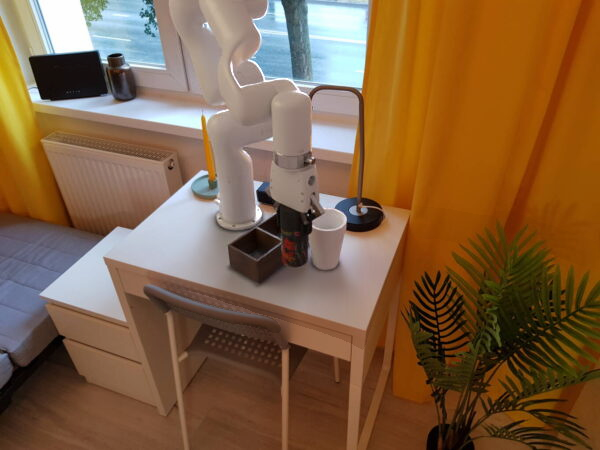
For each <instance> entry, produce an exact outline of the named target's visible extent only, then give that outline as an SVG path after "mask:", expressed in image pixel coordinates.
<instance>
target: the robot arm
mask: <svg viewBox="0 0 600 450" xmlns="http://www.w3.org/2000/svg"><path fill="white" fill-rule="evenodd" d="M168 9H169V15H170V18H171V21H172V24H173V26H174V28H175V31H176V32H177V35H178V36H179V38H180V40H181V41H182V43H183V44H184V46H185V47H186V49H187V51H188V54H189V56H190V59H191V62H192V66H193V69H194V73H195V76H196V79H197V82H198V86H199V90H200V91H201V94H202V97H203V99H204V101H205V103H206V104H207V105H209V106H212V107H218V106H219V107H220V106H224V105H225V106H226V108H227V109H225V110H220V111H218V112H216V113H214V114H212V115H211V116H210V117H209V118H208V120H207V122H206V132H207V135H208V139H209V142H210V145H211V149H212V153H213V158H214V162H215V163H214V165H215V171H216V179H217V187H218V193H217V194H216V198H215V199H213V204H215V205H217V206H218V211H217V213H216V222H217V223H218V225H219V226H221V227H222V228H224V229H226V230H230V231H245V230H248V229H249V230H250V229H252V228H254V227H255V226H256V225H258V224H259V223H261V220H262V218H263V213H262V210H261V207H259V206H258V205H257V204H256V195H255V193H256V192H255V182H254V180H255V179H254V168H253V166H254V165H253V160H252V158H251V156H250V154H248V153H247V151H246V150H244V149H243V148H244V147H246V146H249V145H253V144H256V143H260V142H263V141H267V140H270V139H272V148H273V149H272V150H273V152H272V153H273V158H272V160H271V166H270V172H269V173H270V175H269V185H268V186H266V187H265V188H264V191H265V193H266V194H267V196H268V197H269V201H270V202H271V204H272V205H273V210H274V211H275V213H276V216H277V226H278V227H281V225H280V203H281V204H283V205H286V206H288V207H290V208H292V209H295V210H297V211H299V212H300V215H301V218H302V221H303V222H301V224H300V234H301V238H303V239H304V238H305V237H306V236H308V235H309V234H311V233H312V221H313V220H314V219H316V218H318V217H320V216H321V215H323V214H324V213H325V211H324V209H323V208H324V207H323V206H322V204H321V203H320V183H319V175H318V170H317V166H316V161H317V160H316V158H315V157H313V102H312V99H311V97H310V95H308V94H307V93H306V92H303V91H301V90H300V88H299V87H298V86H297V85H296V83H295V82H294V81H293V80H292V79H291V78H286V77H282V78H276V79H270V80H266V79H265V75H264V73H263V71H262V69H261V67H260V66H259V65H258V64H257V63H256V61H253V60H251V58H253V57H254V56H255V55H256V53H258V51H259V49H260V47H261V45H262V35H261V32H260V31H259V29H258V27H257V26H256V24H255V22H254V21H255V20H260V19H262V18H263V19H264V17H265V16H266V15H267V13H268V9H269V0H168ZM207 24H208V26H209V28H208V27H206V26H205V25H207ZM313 210H314V211H315V212H313ZM307 212H308V215H309V216H307V215H306V213H307Z"/></svg>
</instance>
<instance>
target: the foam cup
mask: <svg viewBox="0 0 600 450" xmlns="http://www.w3.org/2000/svg"><path fill="white" fill-rule="evenodd" d="M322 208H323V209H324V211H325V213H324V214H323V215H321V216H320V217H318V218H316V219H314V220H313V221H312V233H311V234H309V248H310V254H311V260H312V264H313V265H314V266H315V267H316V268H318V269H319V270H324V271H327V270H332V269H334V268H336V267H337V266H338V264H339V260H340V257H341V252H342V249H343V248H342V247H343V243H344V238H345V234H346V231H347V223H348V222H347V221H348V219H347V215H346V214H345V213H344V212H343V211H341V210H340V209H337V208H334V207H322ZM313 212H315V211H314V209H313ZM308 216H309V215H308Z"/></svg>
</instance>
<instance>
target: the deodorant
mask: <svg viewBox="0 0 600 450" xmlns="http://www.w3.org/2000/svg"><path fill="white" fill-rule="evenodd" d="M306 215H307V216H308V212H307V213H306ZM301 222H303V221H302V218H301V215H300V212H299V211H297V210H295V209H292V208H290V207H288V206H286V205H283V204H281V203H280V225H281V233H280V239H281V249H282V262H283V263H284V265H285V266H286V267H288V268H300V267H302V266H305V265H306V264H307V263H308V261H309V245H308V236H306V237H305V238H304V239H303V238H301V234H300V224H301Z"/></svg>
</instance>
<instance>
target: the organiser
mask: <svg viewBox="0 0 600 450" xmlns="http://www.w3.org/2000/svg"><path fill="white" fill-rule="evenodd" d="M279 235H281V227H278V226H277V216H276V212H274V213H273V214H271V215H270V216H268V217H267V218H266V219H263V221H260V222H259V223H258V224H257V225H255V226H253V227H251V228H250V229H249V230H247V231H246V232H245V233H243V234H242V235H240V236H238V237H237V238H236V239H234V240H233V241H232V242H230V243H228V244H227V252H228V262H229V268H230V269H232V270H234V271H236V272H237V273H239V274H241V275H242V276H244V277H246V278H247V279H249V280H251V281H253V282H254V283H256V284H257V285H260V284H262V283H263V282H264V281H265V280H267V279H269V277H271V276H272V275H273V274H274V273H276V272H277V271H278V270H279V269H281V268H282V267H284V265H285V264H284V263H283V262H282V249H281V237H278V236H279ZM308 246H310V242H309V235H308ZM256 251H259V252H261V253H263V255H262V256H260V257H259V258H255V257H253V256H251V255H253V254H254V253H255V252H256Z"/></svg>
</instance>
